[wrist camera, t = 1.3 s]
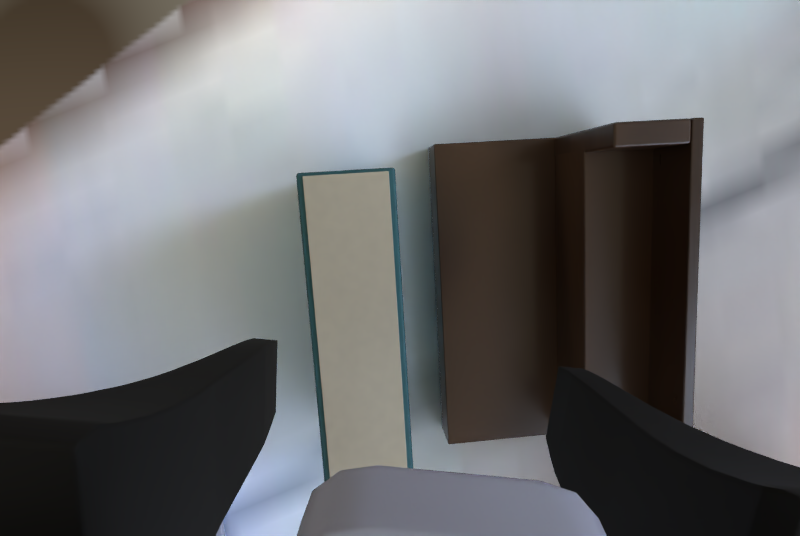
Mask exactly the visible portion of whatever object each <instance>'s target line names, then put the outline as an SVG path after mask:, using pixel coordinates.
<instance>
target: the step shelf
mask: <svg viewBox="0 0 800 536" xmlns="http://www.w3.org/2000/svg"><path fill="white" fill-rule="evenodd" d="M703 124H704V118H691V119H670V120H651V121H632V122H615V123H611V124H607V125H603V126H599V127H596V128H592V129H588V130H583V131H580V132H576V133H572V134H568V135H564V136H560V137H557V138H540V139H522V140H504V141H486V142H468V143H450V144H435V145H433V146H431V147H429V148H428V152H429V172H430V192H431V212H432V231H433V251H434V271H435V291H436V311H437V330H438V350H439V370H440V390H441V410H442V428H443V430H444V433H445V436H446V439H447V441H448V444H456V443H466V442H476V441H485V440H495V439H505V438H515V437H525V436H535V435H545V434H547V429H548V423H549V417H550V412H551V406H552V401H553V395H554V389H555V384H556V378H557V373H558V367H570V368H581V369H585V370H588V371H590V372H592V373H594V374H596V375H598V376H600V377H602V378H604V379H605V380H607V381H609V382H611V383H612V384H614V385H616V386H618V387H619V388H621V389H623V390H624V391H626V392H628V393H630V394H631V395H633V396H635V397H636V398H638V399H640V400H642V401H643V402H645V403H647V404H649V405H651V406H652V407H654V408H656V409H658V410H660V411H662V412H664V413H665V414H667V415H669V416H671V417H673V418H675V419H677V420H679V421H681V422H683V423H685V424H687V425H689V426H691V427H693V404H694V376H695V348H696V320H697V292H698V264H699V236H700V208H701V180H702V152H703Z"/></svg>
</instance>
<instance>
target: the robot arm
mask: <svg viewBox="0 0 800 536" xmlns="http://www.w3.org/2000/svg"><path fill="white" fill-rule="evenodd" d="M276 374H277V340H266V339H255V338H253V339H249V340H246V341H243V342H241V343H238V344H236V345H233V346H231V347H229V348H226V349H224V350H222V351H219V352H217V353H215V354H212V355H210V356H208V357H205V358H203V359H201V360H198V361H196V362H193V363H190V364H188V365H185V366H182V367H180V368H177V369H175V370H172V371H169V372H167V373H164V374H161V375H158V376H154V377H151V378H148V379H144V380H141V381H137V382H134V383H130V384H126V385H122V386H118V387H113V388H108V389H103V390H98V391H93V392H88V393H83V394H78V395H72V396H65V397H58V398H50V399H42V400H33V401H23V402H11V403H0V536H225V528H224V521H223V519H224V517H225V515H226V514H227V512H228V510H229V508H230V506H231V504H232V503H233V501H234V499H235V497H236V495H237V493H238V492H239V490H240V488H241V486H242V484H243V482H244V481H245V479H246V477H247V475H248V473H249V471H250V470H251V468H252V466H253V464H254V462H255V460H256V458H257V457H258V455H259V453H260V451H261V449H262V447H263V445H264V443H265V440H266V438H267V435H268V432H269V430H270V427H271V424H272V421H273V418H274V415H275V412H276ZM546 440H547V444H548V449H549V453H550V457H551V461H552V464H553V468H554V472H555V474H556V477H557V479H558V482H559V484H560V487H558V486H555V485H552V484H549V483H546V482H543V481H539V480H528V479H517V478H507V477H496V476H486V475H475V474H465V473H454V472H444V471H433V470H422V469H412V468H401V467H391V466H380V465H376V466H369V467H362V468H354V469H347V470H340V471H339V472H338V473H336V474H335V475H333V476H332V477H331V478H329V479H328V480H327V481H325V482H324V483H323V484H321V485H320V486H318V487H317V488H316V489H314V490H313V491H312V494H311V496H310V499H309V502H308V504H307V507H306V510H305V512H304V515H303V518H302V521H301V524H300V527H299V530H298V534H297V536H800V468H799V467H796V466H793V465H790V464H787V463H783V462H780V461H777V460H774V459H771V458H769V457H766V456H763V455H760V454H757V453H754V452H752V451H749V450H746V449H743V448H741V447H738V446H735V445H733V444H730V443H728V442H725V441H723V440H721V439H718V438H716V437H714V436H711V435H709V434H707V433H704V432H702V431H700V430H698V429H695V428H693V427H691V426H689V425H687V424H685V423H683V422H681V421H679V420H677V419H675V418H673V417H671V416H669V415H667V414H665V413H664V412H662V411H660V410H658V409H656V408H654V407H652V406H651V405H649V404H647V403H645V402H643V401H642V400H640V399H638V398H636V397H635V396H633V395H631V394H630V393H628V392H626V391H624V390H623V389H621V388H619V387H618V386H616V385H614V384H612V383H611V382H609V381H607V380H605V379H604V378H602V377H600V376H598V375H596V374H594V373H592V372H590V371H588V370H585V369H581V368H570V367H558V373H557V378H556V384H555V389H554V395H553V401H552V406H551V412H550V417H549V423H548V429H547V434H546Z"/></svg>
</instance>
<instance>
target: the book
mask: <svg viewBox="0 0 800 536" xmlns="http://www.w3.org/2000/svg"><path fill="white" fill-rule="evenodd" d="M296 178H297V189H298V200H299V211H300V222H301V232H302V243H303V254H304V265H305V275H306V286H307V297H308V308H309V319H310V329H311V340H312V351H313V362H314V373H315V383H316V394H317V405H318V416H319V426H320V437H321V448H322V459H323V470H324V480H325V481H327V480H328V479H329V478H331V477H332V476H333V475H335V474H336V473H338V472H339V471H340V470H347V469H354V468H362V467H369V466H376V465H380V466H391V467H401V468H412V469H413V458H412V442H411V426H410V409H409V393H408V377H407V360H406V344H405V328H404V312H403V295H402V279H401V263H400V246H399V230H398V214H397V198H396V181H395V170H394V168H378V169H361V170H344V171H327V172H310V173H298V174H297V175H296Z"/></svg>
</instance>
